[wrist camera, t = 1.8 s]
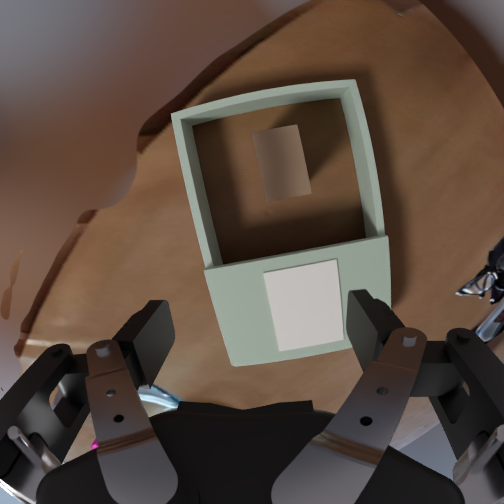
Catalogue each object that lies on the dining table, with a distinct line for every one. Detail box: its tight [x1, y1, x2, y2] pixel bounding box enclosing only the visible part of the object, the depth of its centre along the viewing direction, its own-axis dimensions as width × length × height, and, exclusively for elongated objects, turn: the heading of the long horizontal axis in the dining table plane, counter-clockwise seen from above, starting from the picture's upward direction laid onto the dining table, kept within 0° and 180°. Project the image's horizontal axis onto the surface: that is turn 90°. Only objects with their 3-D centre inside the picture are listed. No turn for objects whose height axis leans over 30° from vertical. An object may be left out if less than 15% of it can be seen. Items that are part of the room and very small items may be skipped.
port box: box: [171, 79, 391, 367], centre depth 33 cm, size 22×34×6 cm, turn 12°
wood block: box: [252, 125, 312, 202], centre depth 30 cm, size 4×7×9 cm, turn 12°
